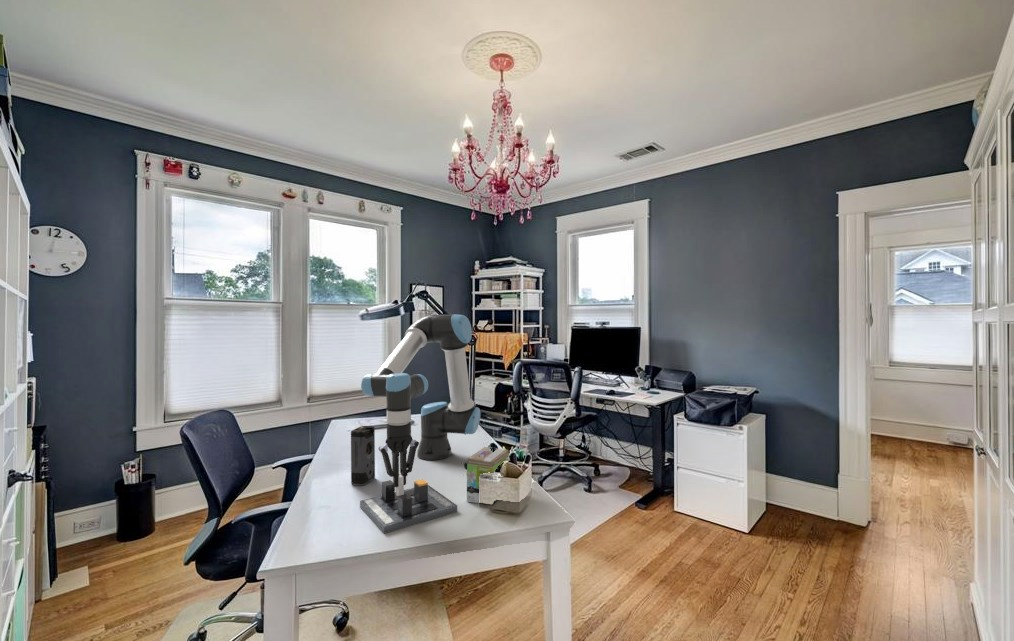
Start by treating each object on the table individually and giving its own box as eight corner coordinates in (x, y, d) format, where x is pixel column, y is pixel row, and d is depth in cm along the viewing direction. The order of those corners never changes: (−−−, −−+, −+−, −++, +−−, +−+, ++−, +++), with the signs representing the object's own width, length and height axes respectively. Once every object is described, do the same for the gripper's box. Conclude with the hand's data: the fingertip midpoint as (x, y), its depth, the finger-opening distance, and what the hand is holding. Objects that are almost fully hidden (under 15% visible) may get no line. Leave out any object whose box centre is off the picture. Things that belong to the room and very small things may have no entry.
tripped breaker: (422, 495, 148) (422, 479, 148) (427, 499, 145) (427, 482, 144) (414, 497, 146) (414, 481, 146) (419, 502, 143) (419, 484, 143)
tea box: (493, 506, 145) (493, 461, 145) (465, 502, 148) (465, 458, 148) (509, 489, 159) (509, 448, 159) (483, 486, 162) (483, 445, 162)
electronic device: (364, 486, 162) (363, 432, 162) (349, 485, 163) (348, 431, 163) (376, 477, 171) (376, 425, 171) (362, 476, 172) (362, 425, 172)
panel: (427, 489, 159) (427, 469, 159) (457, 511, 141) (457, 488, 141) (360, 506, 145) (359, 484, 145) (383, 533, 127) (383, 508, 127)
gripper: (413, 417, 148) (414, 487, 148) (374, 423, 140) (375, 497, 141) (422, 421, 141) (423, 494, 142) (383, 428, 134) (384, 505, 134)
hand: (399, 495), depth 141 cm, fingers closed
